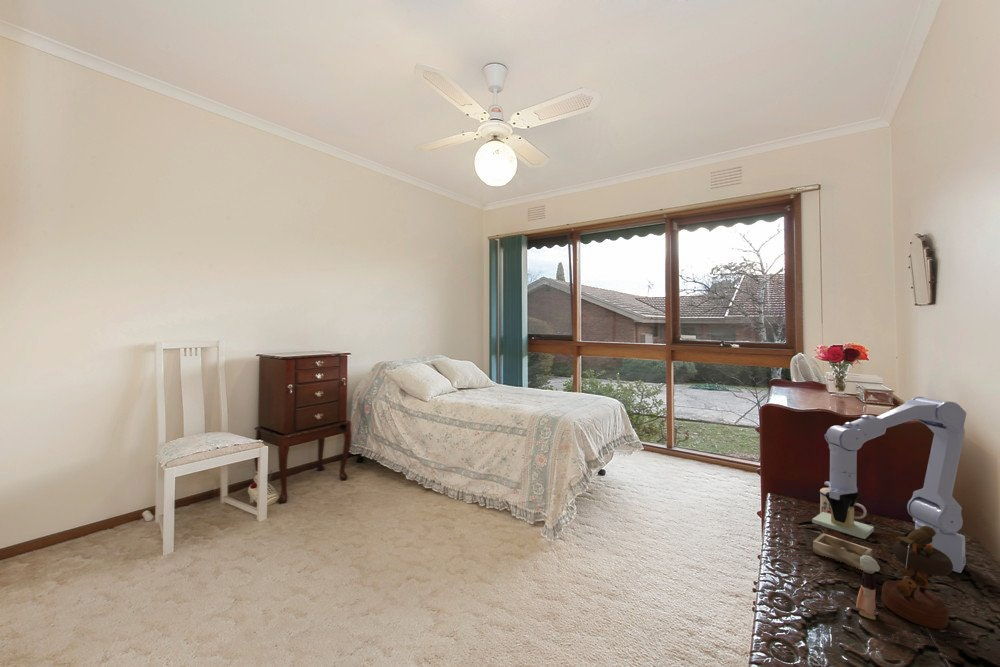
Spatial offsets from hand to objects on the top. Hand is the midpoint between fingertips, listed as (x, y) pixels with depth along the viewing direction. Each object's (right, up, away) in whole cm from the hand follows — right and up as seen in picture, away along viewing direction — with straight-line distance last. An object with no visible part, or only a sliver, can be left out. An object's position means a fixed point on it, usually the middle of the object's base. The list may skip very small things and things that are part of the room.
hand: (842, 519), depth 114 cm
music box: (-2, -11, -23) cm, 25 cm away
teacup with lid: (+18, -11, +21) cm, 30 cm away
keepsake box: (0, -10, 0) cm, 10 cm away
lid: (0, -2, 0) cm, 2 cm away
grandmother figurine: (-14, -11, -24) cm, 29 cm away
